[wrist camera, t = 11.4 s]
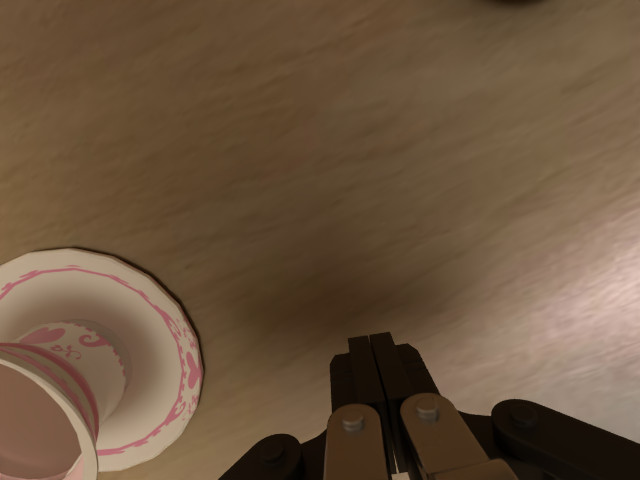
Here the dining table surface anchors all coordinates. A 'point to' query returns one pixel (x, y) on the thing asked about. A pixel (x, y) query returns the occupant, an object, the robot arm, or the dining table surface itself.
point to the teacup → (89, 366)
